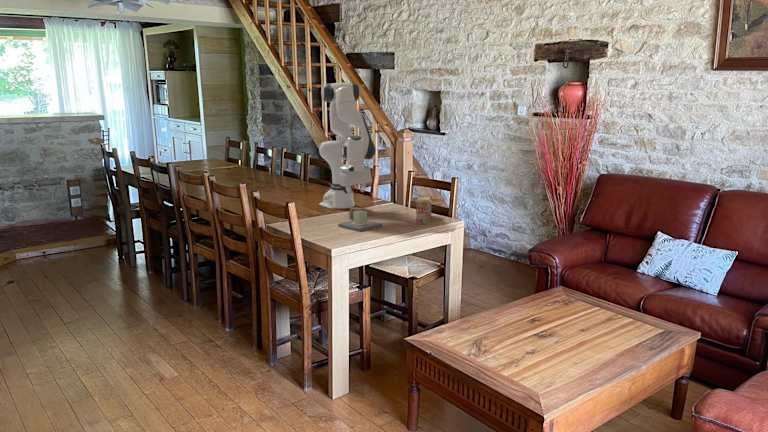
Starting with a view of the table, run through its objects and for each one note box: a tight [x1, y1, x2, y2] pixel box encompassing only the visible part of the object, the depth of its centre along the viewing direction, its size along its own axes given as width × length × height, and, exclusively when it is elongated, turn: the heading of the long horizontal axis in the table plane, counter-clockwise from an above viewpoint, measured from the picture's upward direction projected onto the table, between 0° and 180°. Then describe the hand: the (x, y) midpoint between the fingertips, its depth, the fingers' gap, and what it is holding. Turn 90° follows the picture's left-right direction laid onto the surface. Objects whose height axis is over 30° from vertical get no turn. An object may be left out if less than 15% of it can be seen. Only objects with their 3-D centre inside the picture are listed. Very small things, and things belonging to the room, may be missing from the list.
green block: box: [353, 210, 368, 225], centre depth 313 cm, size 5×5×6 cm
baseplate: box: [337, 219, 383, 232], centre depth 314 cm, size 16×16×2 cm
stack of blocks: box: [415, 196, 432, 225], centre depth 327 cm, size 21×6×12 cm, turn 171°
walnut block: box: [349, 206, 364, 221], centre depth 330 cm, size 5×5×6 cm
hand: (356, 192), depth 327 cm, fingers open, 8 cm apart
